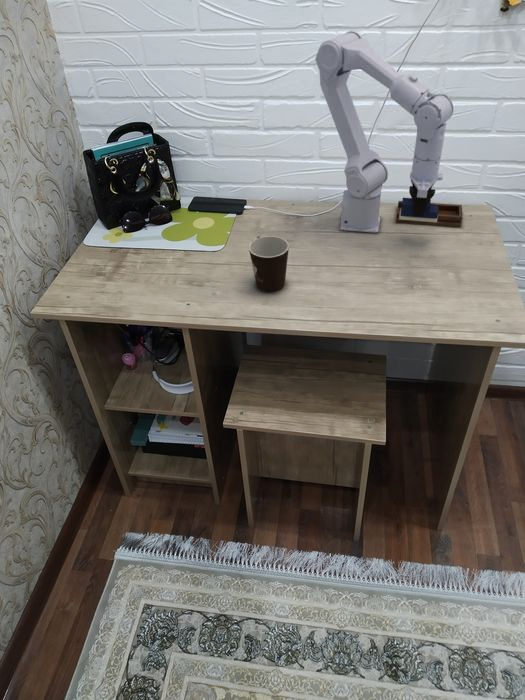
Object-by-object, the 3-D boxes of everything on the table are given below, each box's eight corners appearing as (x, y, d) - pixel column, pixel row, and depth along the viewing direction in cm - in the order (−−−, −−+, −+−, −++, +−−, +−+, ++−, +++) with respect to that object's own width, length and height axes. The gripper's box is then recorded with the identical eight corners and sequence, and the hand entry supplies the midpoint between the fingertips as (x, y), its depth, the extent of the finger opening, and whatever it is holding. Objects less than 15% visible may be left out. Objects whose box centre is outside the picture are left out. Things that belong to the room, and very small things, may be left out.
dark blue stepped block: (398, 219, 134) (400, 204, 131) (400, 211, 137) (402, 196, 134) (436, 222, 132) (439, 207, 130) (437, 214, 135) (439, 199, 132)
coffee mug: (288, 296, 126) (287, 258, 119) (249, 295, 127) (246, 257, 120) (292, 266, 134) (291, 229, 127) (255, 265, 135) (253, 228, 128)
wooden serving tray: (395, 222, 146) (396, 214, 145) (397, 207, 152) (398, 199, 150) (460, 227, 143) (462, 218, 141) (460, 212, 149) (461, 203, 147)
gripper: (445, 171, 118) (435, 228, 128) (446, 143, 129) (437, 198, 138) (411, 169, 120) (403, 226, 129) (414, 141, 130) (407, 195, 139)
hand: (418, 211), depth 134 cm, fingers closed on dark blue stepped block, 3 cm apart
